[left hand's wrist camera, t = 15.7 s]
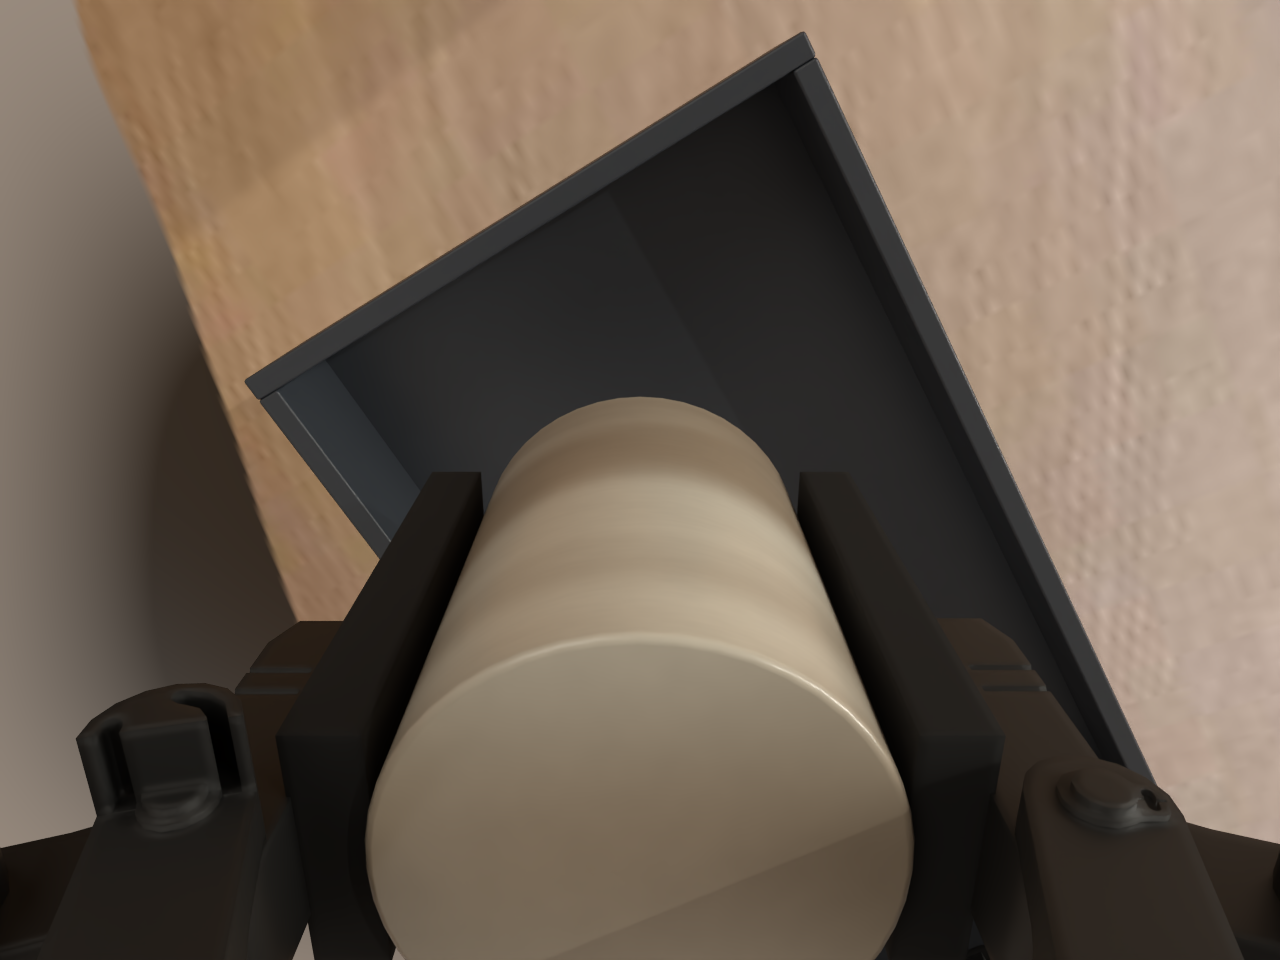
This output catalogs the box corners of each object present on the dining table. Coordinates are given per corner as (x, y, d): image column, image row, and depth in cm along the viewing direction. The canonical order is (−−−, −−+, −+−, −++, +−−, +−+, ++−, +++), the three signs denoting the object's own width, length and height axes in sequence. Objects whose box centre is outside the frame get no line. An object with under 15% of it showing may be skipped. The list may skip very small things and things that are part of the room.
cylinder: (476, 395, 14) (328, 635, 7) (804, 395, 14) (949, 636, 7) (494, 675, 16) (391, 1067, 9) (785, 675, 16) (887, 1068, 9)
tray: (302, 342, 22) (97, 474, 14) (777, 45, 20) (875, -12, 11) (744, 949, 29) (785, 1277, 21) (1132, 786, 27) (1352, 1084, 19)
